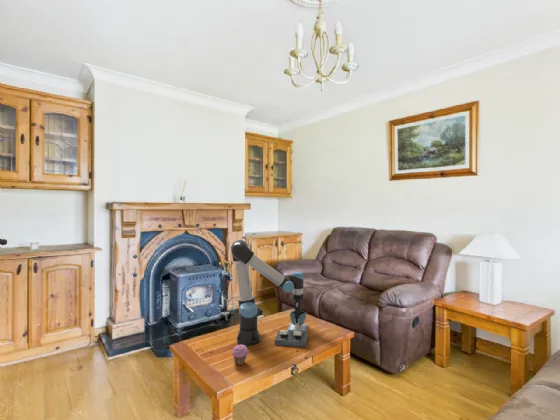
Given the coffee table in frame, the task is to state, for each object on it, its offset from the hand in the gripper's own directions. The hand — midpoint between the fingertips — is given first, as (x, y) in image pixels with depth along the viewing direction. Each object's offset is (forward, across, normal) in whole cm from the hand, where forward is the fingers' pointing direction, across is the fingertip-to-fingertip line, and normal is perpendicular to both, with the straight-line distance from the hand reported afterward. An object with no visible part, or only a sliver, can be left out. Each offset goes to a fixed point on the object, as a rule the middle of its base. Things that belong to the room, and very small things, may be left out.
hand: (297, 324), depth 219 cm
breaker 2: (-2, -20, -2) cm, 20 cm away
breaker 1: (-2, -20, +7) cm, 21 cm away
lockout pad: (+3, 0, 0) cm, 3 cm away
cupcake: (+4, -52, +27) cm, 59 cm away
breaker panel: (+3, -20, +2) cm, 20 cm away
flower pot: (+1, 0, 0) cm, 1 cm away
